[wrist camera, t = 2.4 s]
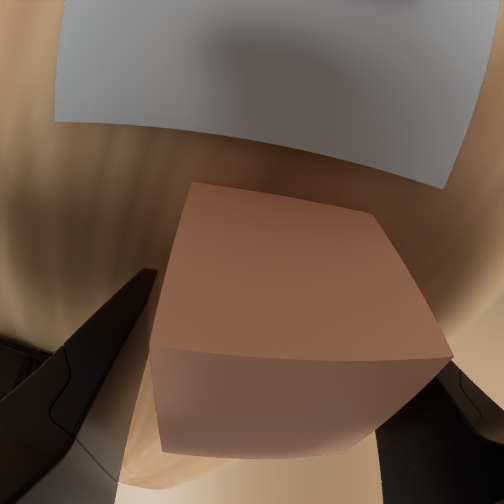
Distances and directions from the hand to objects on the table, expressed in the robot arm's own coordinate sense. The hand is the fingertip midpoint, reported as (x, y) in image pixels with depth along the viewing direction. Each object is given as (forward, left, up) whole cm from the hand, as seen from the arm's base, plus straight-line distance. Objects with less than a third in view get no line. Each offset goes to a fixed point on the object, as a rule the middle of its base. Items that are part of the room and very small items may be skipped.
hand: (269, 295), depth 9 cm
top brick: (0, 0, -1) cm, 1 cm away
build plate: (+10, +1, -1) cm, 10 cm away
